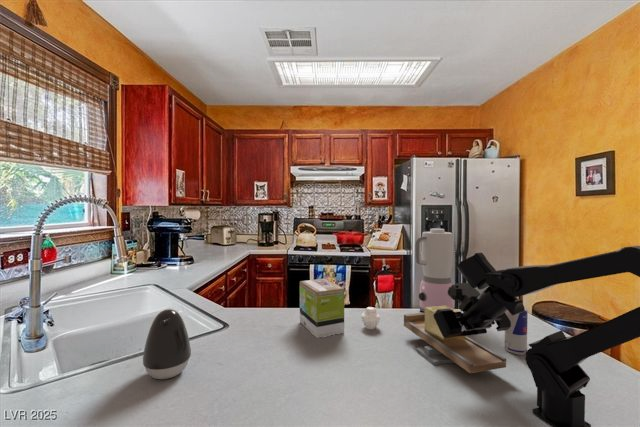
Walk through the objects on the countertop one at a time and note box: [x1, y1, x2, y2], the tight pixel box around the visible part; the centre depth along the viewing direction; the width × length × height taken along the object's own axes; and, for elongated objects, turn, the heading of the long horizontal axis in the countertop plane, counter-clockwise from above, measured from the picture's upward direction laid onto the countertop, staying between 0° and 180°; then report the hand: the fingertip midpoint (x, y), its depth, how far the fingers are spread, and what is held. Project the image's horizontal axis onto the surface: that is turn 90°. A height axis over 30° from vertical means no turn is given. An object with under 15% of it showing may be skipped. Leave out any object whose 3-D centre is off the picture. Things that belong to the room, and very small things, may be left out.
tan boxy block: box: [424, 305, 466, 344], centre depth 85 cm, size 8×7×7 cm
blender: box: [414, 228, 455, 313], centre depth 118 cm, size 16×12×32 cm
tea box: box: [299, 278, 345, 339], centre depth 103 cm, size 15×10×15 cm, turn 25°
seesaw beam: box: [403, 312, 507, 374], centre depth 84 cm, size 28×10×4 cm, turn 16°
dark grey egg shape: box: [142, 308, 192, 380], centre depth 74 cm, size 10×10×15 cm
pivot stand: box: [415, 345, 455, 366], centre depth 84 cm, size 8×14×2 cm, turn 106°
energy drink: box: [503, 307, 528, 356], centre depth 87 cm, size 5×5×12 cm
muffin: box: [360, 306, 381, 330], centre depth 103 cm, size 6×6×7 cm
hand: (455, 334), depth 81 cm, fingers closed
